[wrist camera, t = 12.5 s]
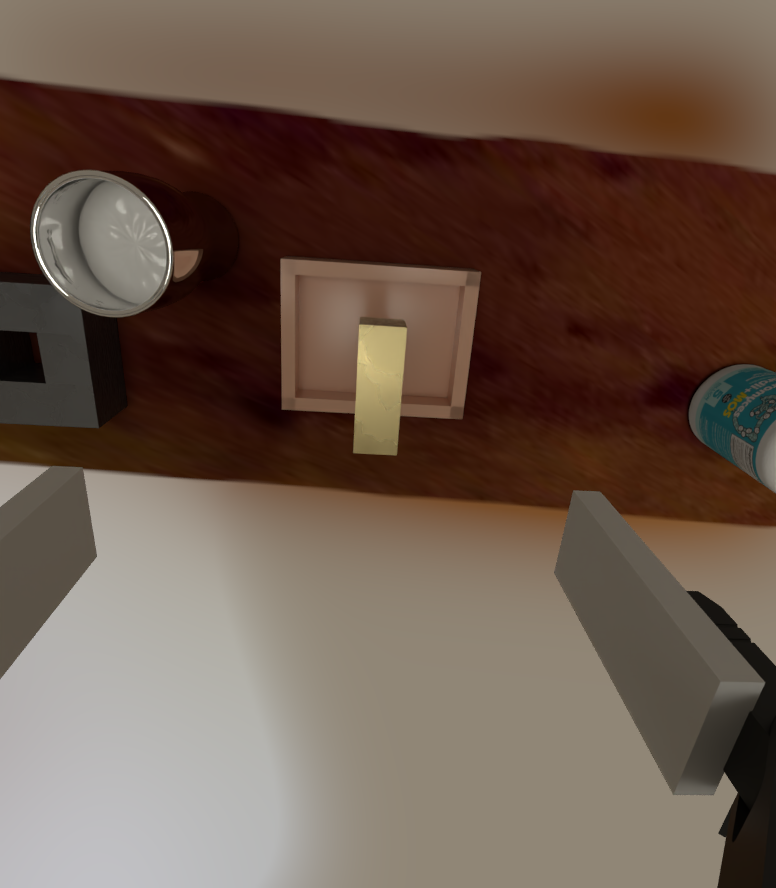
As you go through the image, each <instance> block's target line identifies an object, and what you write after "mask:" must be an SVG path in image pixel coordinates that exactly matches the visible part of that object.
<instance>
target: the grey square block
mask: <svg viewBox="0 0 776 888" xmlns="http://www.w3.org/2000/svg"><path fill="white" fill-rule="evenodd" d="M29 332H37V337H38V343H39V348H40V354H41V359H42V363H34V358H33V353H32V348H31V342H30V337H29ZM126 407H127V398H126V390H125V382H124V374H123V366H122V358H121V350H120V343H119V335H118V327H117V319H116V317H105V316H100V315H96V314H93V313H90V312H87V311H85V310H83V309H81V308H79V307H77V306H75V305H74V304H72V303H71V302H69V301H68V300H67V299H65V298H64V297H63V296H62V295H61V294H59V293H58V292H57V291H56V289H55V288H54V287H53V286H52V285H51V284H50V283H49V281H48V280H47V278H46V277H45V276H44V275H41V274H26V273H10V272H0V423H8V424H28V425H47V426H67V427H86V428H100V427H101V426H102V425H104V424H105V423H106V422H108V421H109V420H110V419H111V418H113V417H114V416H115V415H117V414H118V413H119V412H121V411H122V410H123V409H125V408H126Z"/></svg>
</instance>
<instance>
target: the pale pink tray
mask: <svg viewBox="0 0 776 888" xmlns="http://www.w3.org/2000/svg"><path fill="white" fill-rule="evenodd" d="M480 278H481V272H479V271H477V270H475V269H470V268H456V267H441V266H427V265H412V264H398V263H383V262H369V261H354V260H340V259H325V258H311V257H296V256H285V257H283V258H281V366H282V410H301V411H319V412H338V413H355V403H356V382H357V361H358V340H359V322H360V317H371V318H386V319H402V320H405V323H406V326H407V335H406V347H405V359H404V372H403V384H402V396H401V409H400V416H412V417H430V418H449V419H462V418H463V410H464V402H465V394H466V387H467V379H468V371H469V363H470V356H471V348H472V340H473V332H474V324H475V317H476V309H477V301H478V293H479V285H480Z"/></svg>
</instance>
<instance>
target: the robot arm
mask: <svg viewBox="0 0 776 888" xmlns="http://www.w3.org/2000/svg"><path fill="white" fill-rule="evenodd" d="M96 557H97V554H96V548H95V542H94V535H93V529H92V523H91V516H90V510H89V505H88V498H87V492H86V486H85V479H84V473H83V467H62V466H51V467H50V468H49V469H48V470H46V471H45V472H44V473H43V474H41V475H40V476H39V477H38V478H36V479H35V480H34V481H33V482H31V483H30V484H29V485H28V486H26V487H25V488H24V489H23V490H21V491H20V492H19V493H17V494H16V495H15V496H14V497H13V498H11V499H10V500H9V501H7V502H6V503H5V504H4V505H2V506H1V507H0V679H1V677H2V676H3V675H4V674H5V672H6V671H7V670H8V669H9V667H10V666H11V665H12V664H13V662H14V661H15V660H16V658H17V657H18V656H19V655H20V653H21V652H22V651H23V650H24V648H25V647H26V646H27V644H28V643H29V642H30V641H31V639H32V638H33V637H34V636H35V634H36V633H37V632H38V631H39V629H40V628H41V627H42V625H43V624H44V623H45V622H46V620H47V619H48V618H49V617H50V615H51V614H52V613H53V611H54V610H55V609H56V608H57V606H58V605H59V604H60V603H61V601H62V600H63V599H64V598H65V596H66V595H67V594H68V593H69V591H70V590H71V588H72V587H73V586H74V585H75V584H76V582H77V581H78V580H79V578H80V577H81V576H82V575H83V573H84V572H85V571H86V570H87V568H88V567H89V566H90V565H91V563H92V562H93V561H94V559H95V558H96ZM554 573H555V575H556V577H557V579H558V581H559V583H560V585H561V587H562V588H563V590H564V592H565V594H566V596H567V598H568V599H569V602H570V603H571V605H572V607H573V609H574V611H575V612H576V615H577V616H578V618H579V620H580V622H581V624H582V626H583V628H584V629H585V631H586V633H587V635H588V637H589V639H590V641H591V642H592V644H593V646H594V648H595V650H596V652H597V653H598V655H599V657H600V659H601V661H602V663H603V665H604V667H605V668H606V670H607V672H608V674H609V676H610V678H611V680H612V681H613V683H614V685H615V687H616V689H617V691H618V693H619V695H620V696H621V698H622V700H623V702H624V704H625V706H626V708H627V709H628V711H629V713H630V715H631V717H632V719H633V721H634V722H635V724H636V726H637V728H638V730H639V732H640V734H641V735H642V737H643V739H644V741H645V743H646V745H647V747H648V748H649V750H650V752H651V754H652V756H653V758H654V760H655V762H656V763H657V765H658V767H659V768H660V771H661V773H662V775H663V776H664V778H665V780H666V782H667V784H668V786H669V788H670V789H671V791H672V793H673V795H714V793H715V791H716V789H717V787H718V784H719V782H720V780H721V778H722V776H723V774H724V772H725V773H726V775H727V776H728V778H729V780H730V781H731V783H732V784H733V786H734V787H735V789H736V790H737V792H738V794H737V796H736V798H735V800H734V802H733V804H732V806H731V808H730V810H729V812H728V815H727V816H726V818H725V820H724V823H723V825H722V827H721V829H720V831H719V834H720V835H722V836H724V837H726V841H725V847H724V853H723V859H722V865H721V871H720V876H719V882H718V887H717V888H776V666H775V665H774V664H773V663H772V662H771V660H770V659H769V658H768V657H767V656H766V655H765V654H764V653H763V652H762V651H761V650H760V649H759V647H757V645H756V644H755V643H751V639H750V638H749V637H748V635H746V633H744V631H743V630H742V629H741V628H738V627H737V624H736V622H735V621H734V620H733V619H732V618H731V617H730V616H729V615H728V614H727V613H726V612H725V610H724V609H723V608H722V607H721V606H719V605H718V604H716V603H715V602H713V601H712V600H710V599H709V598H707V597H706V596H705V595H703V594H701V593H700V592H698V591H686V590H685V589H684V588H683V587H682V586H681V585H680V583H679V582H678V581H677V580H676V579H675V578H674V577H673V576H672V574H671V573H670V572H669V571H668V570H667V568H666V567H665V566H664V565H663V564H662V563H661V561H660V560H659V559H658V558H657V557H656V556H655V555H654V553H653V552H652V551H651V550H650V549H649V548H648V546H647V545H646V544H645V543H644V542H643V541H642V539H641V538H640V537H639V536H638V535H637V534H636V533H635V531H634V530H633V529H632V528H631V527H630V526H629V524H628V523H627V522H626V521H625V520H624V519H623V518H622V516H621V515H620V514H619V513H618V512H617V511H616V509H615V508H614V507H613V506H612V505H611V504H610V502H609V501H608V500H607V499H606V498H605V497H604V496H603V494H602V493H601V492H595V491H573V494H572V499H571V503H570V507H569V511H568V516H567V520H566V525H565V529H564V533H563V537H562V541H561V546H560V550H559V555H558V559H557V563H556V567H555V571H554Z"/></svg>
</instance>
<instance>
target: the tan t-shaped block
mask: <svg viewBox="0 0 776 888" xmlns="http://www.w3.org/2000/svg"><path fill="white" fill-rule="evenodd" d="M406 335H407V326H406V323H405V320H402V319H386V318H371V317H360V322H359V340H358V361H357V382H356V403H355V424H354V445H353V453H361V454H381V455H397V446H398V433H399V421H400V409H401V396H402V384H403V372H404V359H405V347H406Z"/></svg>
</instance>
